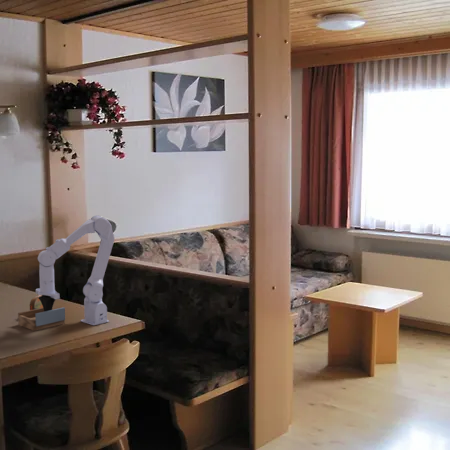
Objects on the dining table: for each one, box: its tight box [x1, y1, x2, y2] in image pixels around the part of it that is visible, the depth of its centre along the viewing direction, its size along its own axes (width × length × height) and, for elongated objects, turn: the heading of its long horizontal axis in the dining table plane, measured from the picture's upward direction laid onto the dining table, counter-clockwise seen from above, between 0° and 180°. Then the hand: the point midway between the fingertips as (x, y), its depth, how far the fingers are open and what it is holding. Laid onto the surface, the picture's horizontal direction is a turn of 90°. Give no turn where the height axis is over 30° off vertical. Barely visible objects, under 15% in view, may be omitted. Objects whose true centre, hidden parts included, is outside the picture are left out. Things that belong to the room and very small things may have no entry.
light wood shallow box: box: [17, 308, 66, 332], centre depth 255 cm, size 12×14×5 cm
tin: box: [29, 294, 43, 311], centre depth 270 cm, size 15×3×8 cm, turn 168°
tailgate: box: [35, 306, 66, 327], centre depth 251 cm, size 1×13×5 cm, turn 138°
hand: (48, 313), depth 252 cm, fingers closed
